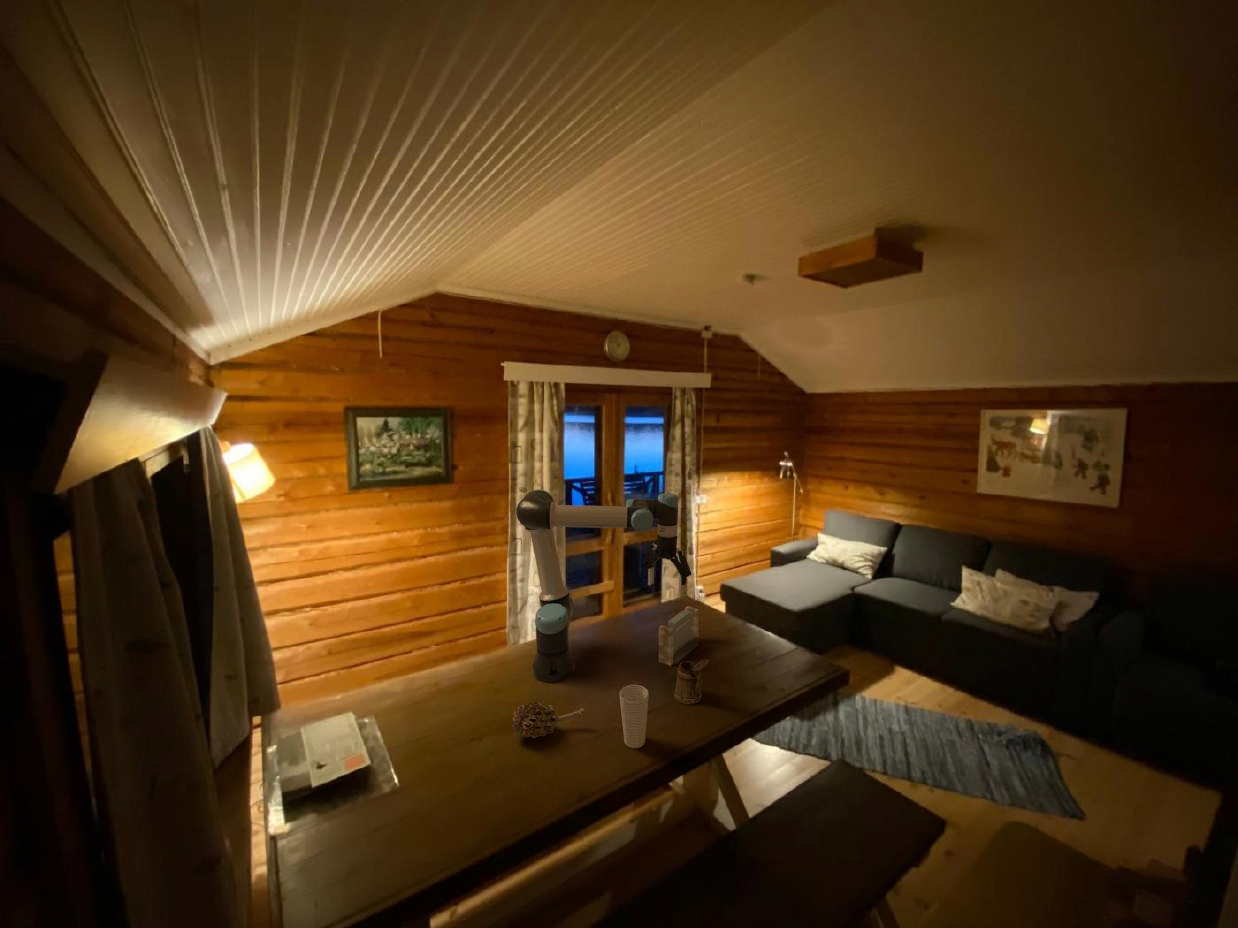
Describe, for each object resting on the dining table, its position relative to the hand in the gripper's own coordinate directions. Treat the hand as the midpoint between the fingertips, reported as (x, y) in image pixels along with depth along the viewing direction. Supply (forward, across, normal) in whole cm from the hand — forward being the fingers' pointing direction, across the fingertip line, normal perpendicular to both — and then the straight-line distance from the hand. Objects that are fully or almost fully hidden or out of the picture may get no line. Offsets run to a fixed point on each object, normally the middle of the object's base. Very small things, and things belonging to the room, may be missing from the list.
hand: (665, 588), depth 195 cm
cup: (+26, +20, -49) cm, 59 cm away
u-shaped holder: (+26, +5, +3) cm, 26 cm away
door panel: (+25, +5, +3) cm, 26 cm away
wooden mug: (+26, +24, -22) cm, 41 cm away
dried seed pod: (+27, -4, -60) cm, 66 cm away
